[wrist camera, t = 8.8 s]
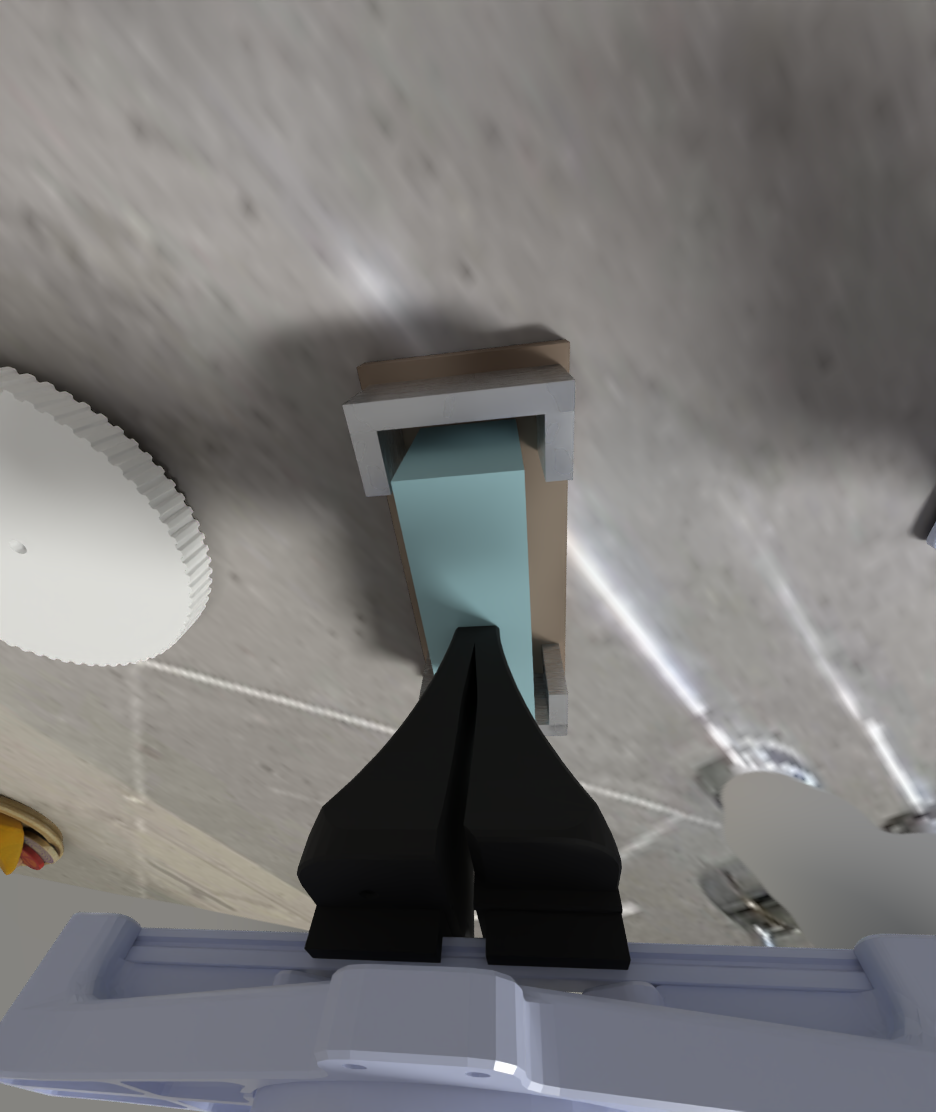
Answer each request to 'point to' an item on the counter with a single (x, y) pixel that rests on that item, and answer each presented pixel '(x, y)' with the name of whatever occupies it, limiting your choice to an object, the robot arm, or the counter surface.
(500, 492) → the teal rectangular block
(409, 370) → the end cap board
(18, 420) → the plastic lid
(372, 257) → the counter surface
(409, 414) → the end caps
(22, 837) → the toy sandwich meal
